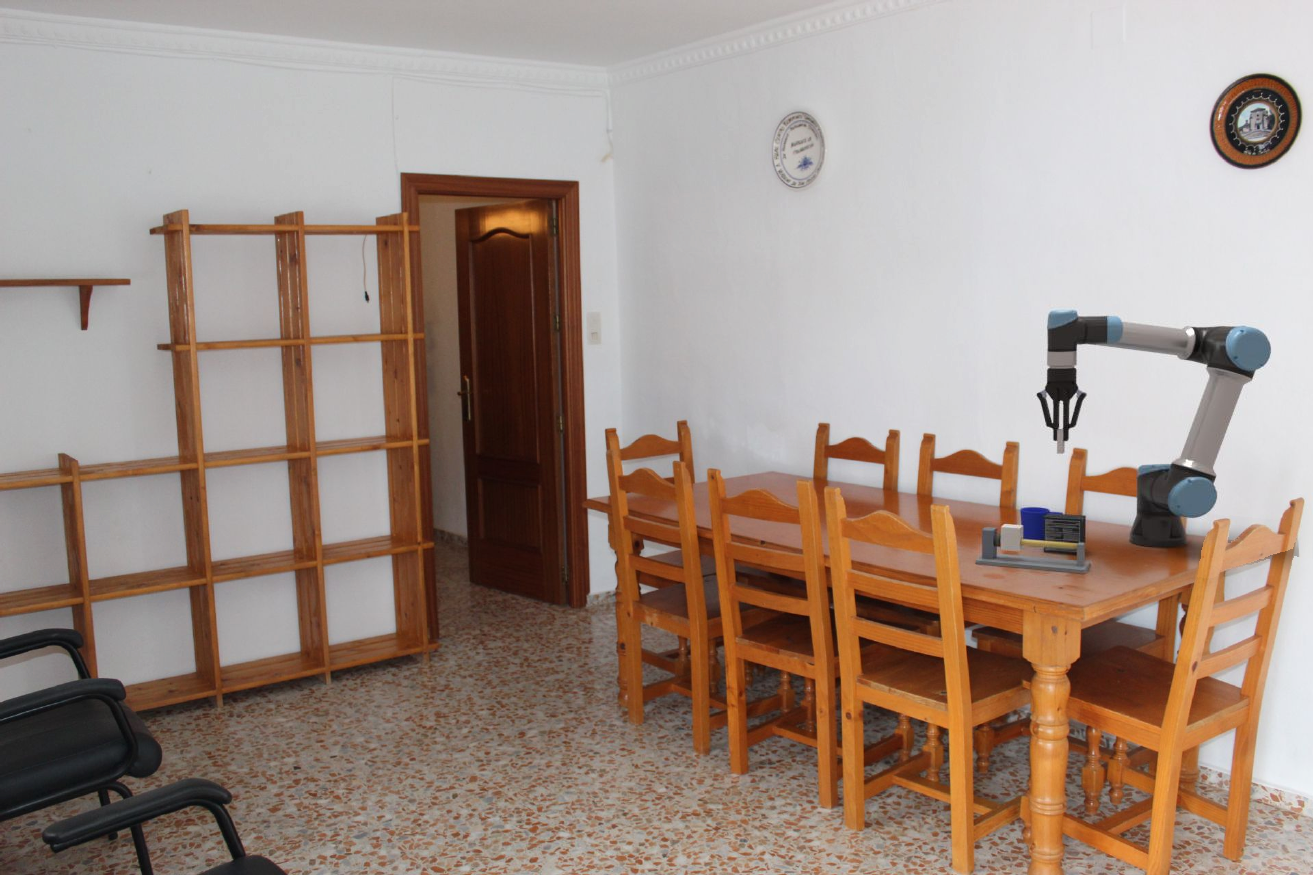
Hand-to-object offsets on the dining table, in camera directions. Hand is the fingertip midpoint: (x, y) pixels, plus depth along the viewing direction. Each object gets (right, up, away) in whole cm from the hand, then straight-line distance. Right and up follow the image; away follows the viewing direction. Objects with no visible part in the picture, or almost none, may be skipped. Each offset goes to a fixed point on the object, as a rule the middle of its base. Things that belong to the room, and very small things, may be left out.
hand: (1060, 452), depth 289 cm
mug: (+3, -27, +22) cm, 35 cm away
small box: (+5, -29, +10) cm, 31 cm away
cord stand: (-9, -30, -3) cm, 32 cm away
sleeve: (-14, -26, -1) cm, 30 cm away
